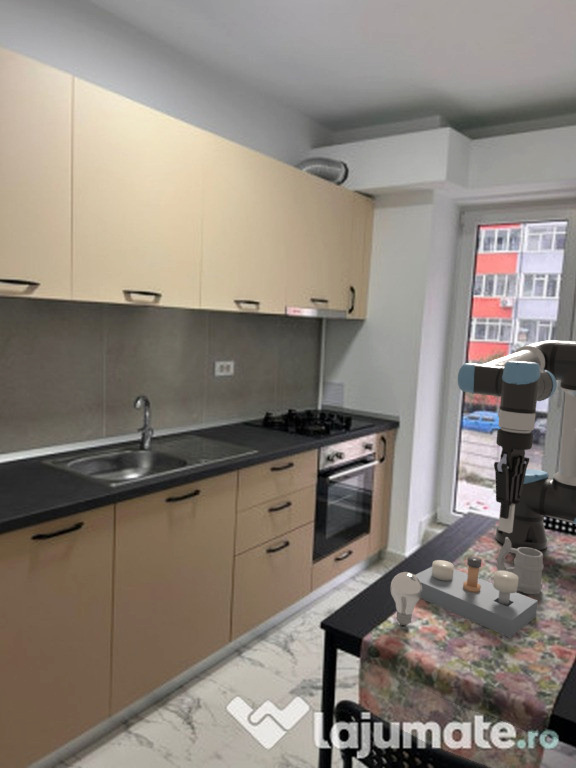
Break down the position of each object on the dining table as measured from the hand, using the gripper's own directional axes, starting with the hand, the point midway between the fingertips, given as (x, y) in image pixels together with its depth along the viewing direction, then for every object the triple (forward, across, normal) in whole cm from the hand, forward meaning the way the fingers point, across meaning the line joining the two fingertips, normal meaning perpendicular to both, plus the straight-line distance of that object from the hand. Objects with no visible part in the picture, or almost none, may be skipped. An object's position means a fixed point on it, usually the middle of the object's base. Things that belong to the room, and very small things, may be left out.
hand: (505, 530), depth 130 cm
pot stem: (+17, 0, -7) cm, 18 cm away
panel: (+21, 0, -7) cm, 22 cm away
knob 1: (+20, 0, -15) cm, 25 cm away
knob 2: (+17, 0, +1) cm, 17 cm away
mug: (+21, -20, -4) cm, 29 cm away
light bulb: (+21, +21, -11) cm, 32 cm away
